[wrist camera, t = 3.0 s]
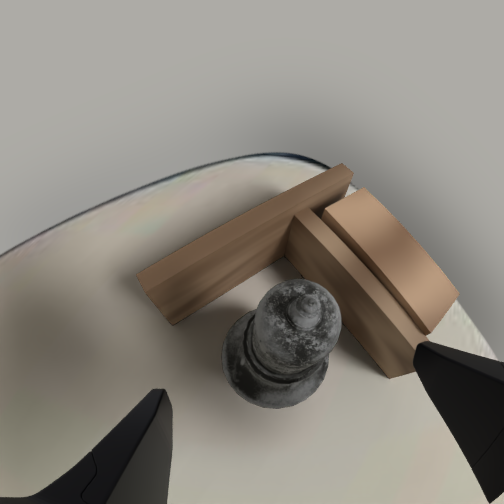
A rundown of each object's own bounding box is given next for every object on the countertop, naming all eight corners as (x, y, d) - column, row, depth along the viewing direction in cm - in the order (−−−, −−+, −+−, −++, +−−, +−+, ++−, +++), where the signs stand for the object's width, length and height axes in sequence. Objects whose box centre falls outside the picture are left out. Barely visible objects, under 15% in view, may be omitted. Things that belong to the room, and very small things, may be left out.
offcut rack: (429, 330, 18) (476, 301, 13) (279, 471, 13) (295, 500, 8) (324, 214, 24) (341, 163, 18) (164, 312, 19) (135, 274, 14)
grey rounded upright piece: (320, 332, 18) (407, 235, 8) (303, 414, 15) (398, 427, 5) (239, 314, 19) (232, 192, 9) (215, 394, 16) (161, 381, 6)
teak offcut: (442, 305, 15) (459, 293, 14) (413, 341, 14) (431, 332, 12) (355, 205, 20) (364, 187, 18) (317, 227, 18) (324, 208, 17)
